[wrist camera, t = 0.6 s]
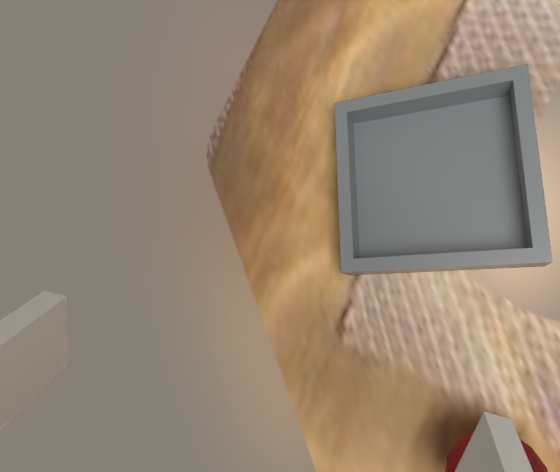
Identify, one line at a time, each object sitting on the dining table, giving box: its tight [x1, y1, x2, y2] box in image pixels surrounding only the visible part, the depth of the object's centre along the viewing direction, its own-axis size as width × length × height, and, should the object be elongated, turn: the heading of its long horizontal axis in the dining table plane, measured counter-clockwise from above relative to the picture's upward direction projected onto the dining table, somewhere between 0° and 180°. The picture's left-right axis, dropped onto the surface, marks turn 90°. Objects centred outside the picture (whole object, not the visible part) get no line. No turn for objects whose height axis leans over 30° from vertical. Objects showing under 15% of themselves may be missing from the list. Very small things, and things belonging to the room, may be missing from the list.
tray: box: [334, 64, 552, 275], centre depth 33 cm, size 14×14×3 cm
